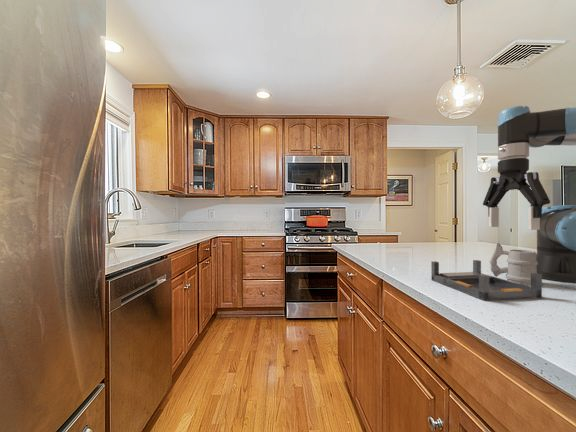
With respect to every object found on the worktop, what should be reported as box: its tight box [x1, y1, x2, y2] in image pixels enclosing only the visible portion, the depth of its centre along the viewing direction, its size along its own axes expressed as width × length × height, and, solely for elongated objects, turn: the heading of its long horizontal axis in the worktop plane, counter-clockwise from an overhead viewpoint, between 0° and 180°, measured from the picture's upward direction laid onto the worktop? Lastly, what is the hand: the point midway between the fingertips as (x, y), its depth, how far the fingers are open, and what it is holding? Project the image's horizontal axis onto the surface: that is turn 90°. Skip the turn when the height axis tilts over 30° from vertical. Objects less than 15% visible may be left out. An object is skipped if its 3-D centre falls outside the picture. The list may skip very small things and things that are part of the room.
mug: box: [489, 242, 538, 287], centre depth 86 cm, size 8×12×12 cm, turn 51°
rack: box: [430, 259, 543, 302], centre depth 80 cm, size 16×21×6 cm
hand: (512, 228), depth 86 cm, fingers open, 13 cm apart
